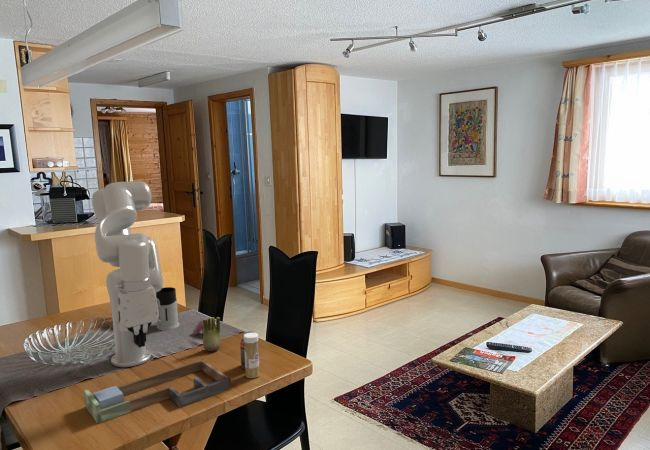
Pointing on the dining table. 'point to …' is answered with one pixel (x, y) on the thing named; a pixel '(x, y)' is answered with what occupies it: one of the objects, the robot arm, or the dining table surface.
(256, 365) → the sprinkles bottle
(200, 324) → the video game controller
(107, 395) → the block
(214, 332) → the fennel bulb
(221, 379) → the box
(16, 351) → the dining table surface
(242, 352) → the supplement bottle
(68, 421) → the dining table surface
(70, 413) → the dining table surface
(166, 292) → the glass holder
